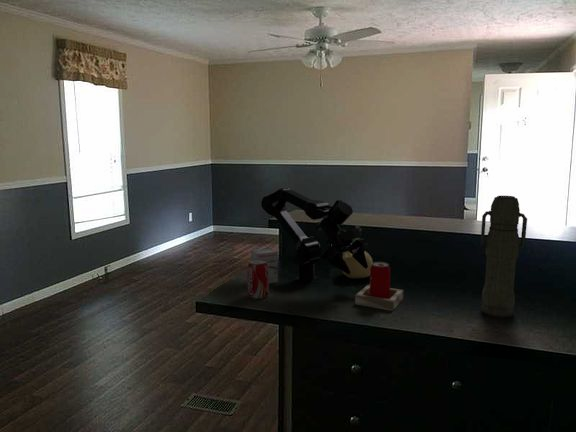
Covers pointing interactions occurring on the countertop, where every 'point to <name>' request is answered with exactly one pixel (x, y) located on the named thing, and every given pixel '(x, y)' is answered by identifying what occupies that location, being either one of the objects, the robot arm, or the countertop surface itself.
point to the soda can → (257, 278)
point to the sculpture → (357, 266)
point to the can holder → (379, 299)
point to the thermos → (501, 255)
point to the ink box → (268, 261)
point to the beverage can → (380, 280)
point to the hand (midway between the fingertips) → (358, 270)
